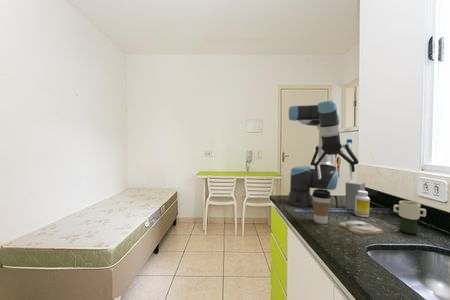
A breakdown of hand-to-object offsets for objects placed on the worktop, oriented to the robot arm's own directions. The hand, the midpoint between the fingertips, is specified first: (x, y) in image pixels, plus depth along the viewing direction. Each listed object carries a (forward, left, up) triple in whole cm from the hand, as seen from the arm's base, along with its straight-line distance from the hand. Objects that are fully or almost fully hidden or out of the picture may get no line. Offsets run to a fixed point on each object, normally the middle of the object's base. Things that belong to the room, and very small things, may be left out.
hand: (335, 178), depth 104 cm
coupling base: (+9, +6, -21) cm, 24 cm away
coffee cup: (-3, -5, -22) cm, 22 cm away
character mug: (+17, +24, -22) cm, 36 cm away
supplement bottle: (-5, +23, -22) cm, 32 cm away
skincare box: (-14, +28, -22) cm, 38 cm away
